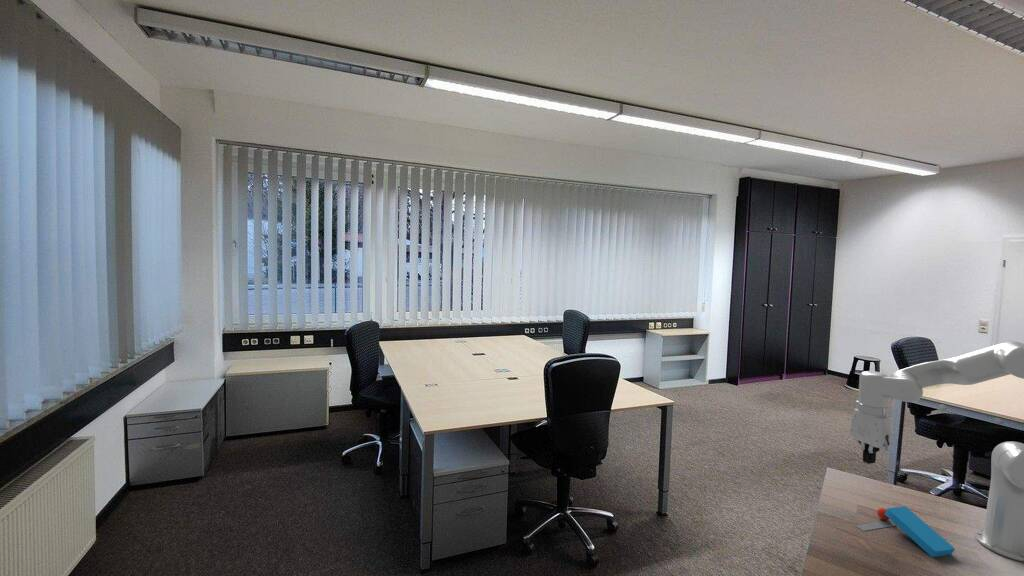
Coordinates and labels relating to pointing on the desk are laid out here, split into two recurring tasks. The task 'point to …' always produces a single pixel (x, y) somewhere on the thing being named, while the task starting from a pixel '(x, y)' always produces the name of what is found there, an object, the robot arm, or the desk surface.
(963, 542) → the desk surface
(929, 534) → the lever
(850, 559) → the desk surface
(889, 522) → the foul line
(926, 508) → the desk surface
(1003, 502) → the robot arm
